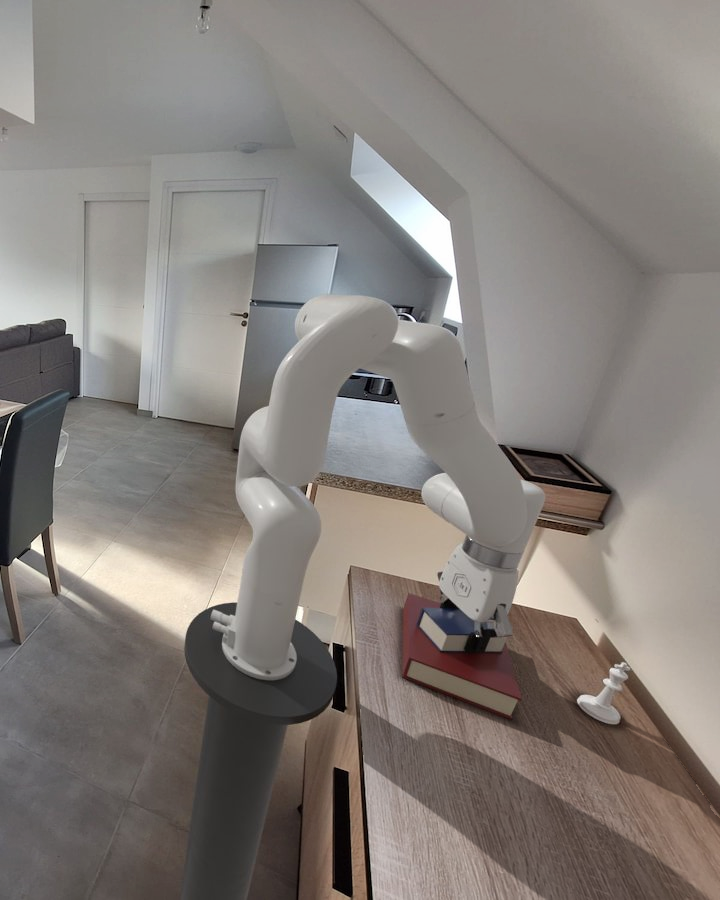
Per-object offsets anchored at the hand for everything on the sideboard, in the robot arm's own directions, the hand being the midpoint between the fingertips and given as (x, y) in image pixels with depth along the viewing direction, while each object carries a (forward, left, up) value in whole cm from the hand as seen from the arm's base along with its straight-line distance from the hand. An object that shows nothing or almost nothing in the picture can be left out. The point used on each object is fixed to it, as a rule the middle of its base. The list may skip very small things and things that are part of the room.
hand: (458, 635), depth 81 cm
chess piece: (+20, 0, -5) cm, 21 cm away
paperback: (0, 0, -1) cm, 1 cm away
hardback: (0, 0, -5) cm, 5 cm away
